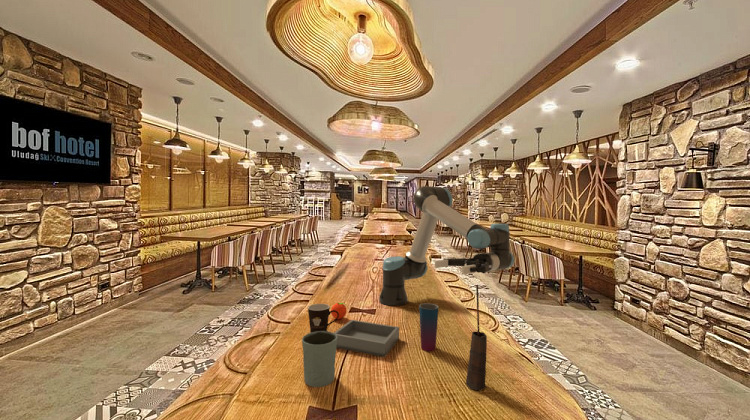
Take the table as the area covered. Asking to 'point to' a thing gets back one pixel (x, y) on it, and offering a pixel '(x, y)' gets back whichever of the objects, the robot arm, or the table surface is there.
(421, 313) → the cup
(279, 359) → the table surface
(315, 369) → the grey ceramic tumbler
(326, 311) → the coffee mug
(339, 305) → the clementine
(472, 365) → the butter churn
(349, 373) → the table surface
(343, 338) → the tray
